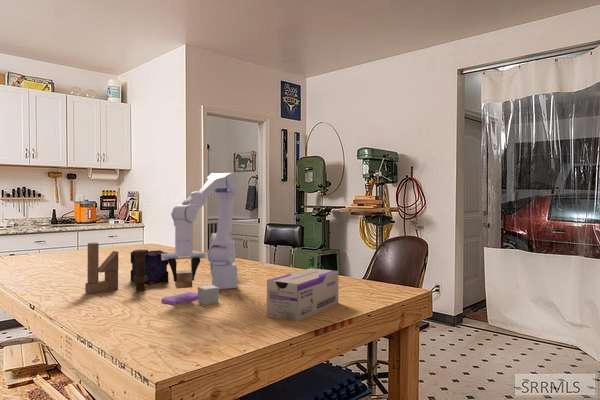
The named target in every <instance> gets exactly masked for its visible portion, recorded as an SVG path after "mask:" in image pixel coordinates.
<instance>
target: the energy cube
mask: <svg viewBox="0 0 600 400" xmlns="http://www.w3.org/2000/svg"><path fill="white" fill-rule="evenodd" d="M148 251H149V254H147V255H145V275H146V276H147V277H148V280H147V281H146V282H145V286H149V285H150V284H157V285H158V284H168V283H169V271H168V265H169V263H168V260H161V254H168V253H169V252H166V251H163V250H161V249H160V250H157V249H156V250H148ZM130 264H131V270H130V282H131V281H132V282H131V283H133V282H134V281H133V277H134V276H136V255H132V251H130ZM134 285H136V282H135V283H134Z"/></svg>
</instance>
